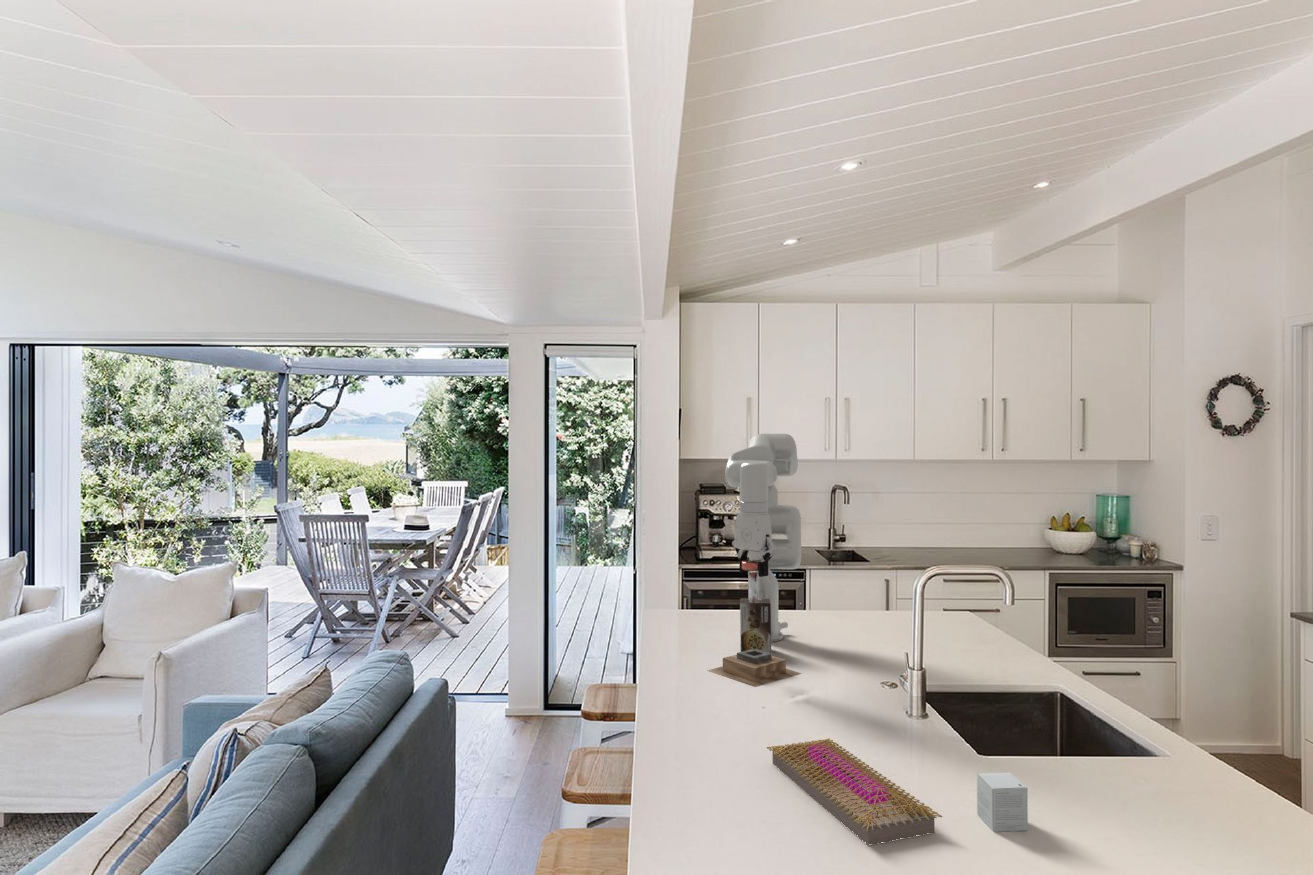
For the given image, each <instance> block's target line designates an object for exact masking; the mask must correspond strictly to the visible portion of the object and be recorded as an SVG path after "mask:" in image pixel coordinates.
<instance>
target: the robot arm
mask: <svg viewBox="0 0 1313 875" xmlns="http://www.w3.org/2000/svg"><path fill="white" fill-rule="evenodd" d="M798 465H799V464H798V449H797V443H796V441H795V438H794V437H793V436H792V435H790V434H789V433H759V434H755V435H753V437H751V438H750V440H749V442H748V445H747V447H746V448H744V449H742V450H738V451H735V452H734V453H731V455H730V456H729V457H728V459H727V462H726V464H725V473H724V476H725V477H724V478H725V481H726V483H727V484H728V486H730V487H732V488H739V503H738V507H739V512H737V516H736V519H735V520H736V521H735V528H734V540H732V542H731V545H732V546H733V548H734V550H735V552H736V554H737V558H738V559H739V574H744V573H746V574H747V575H748V578H747V579H748V589H749V572H758V598H762V599H770V602H771V643H773V642H778V641H781V640H783V639H784V633H782V632H781V631H782V629H786V628H788V627H789V624H788V622H787V621H783V622H780V621H779V582H778V579H777V577H776V576H775V574H774V573H773V572H772V570H797V569H798V568H799V567H800V566H801V563H802V517H801V513H800V510H799V509H798V507H796V506H794V505H788V504H787V505H786V504H785V505H784V504H781V505H779V504H778V501H779V500H778V499H779V498H778V494H779V493H778V488H777V487H776V485H775V484H774V483H775V482H777V479H778V477H791V476H794V475H795V474H796V472H798V471H797V470H798ZM773 535H774V536H776V535H777V536H785V537H786V538H773ZM745 559H749V560H759V559H760V561H761V562H759V563H758V571H747V570H743V569H742V561H743V560H745Z"/></svg>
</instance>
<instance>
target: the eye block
mask: <svg viewBox="0 0 1313 875" xmlns="http://www.w3.org/2000/svg"><path fill="white" fill-rule="evenodd" d="M707 672H710V673H713V674H716V675H719V676H721V677H725V678H728V679H731V680H733V681H737V682H739V683H742V684H745V685H748V686H750V687H754V688H756V687H760V686H764V685H766V684H767V685H768V684H771V683H774V682H777V681H780V680H785V679H787V678H792V677H794V676H795V677H796V676H798V675H802V673H801V672H799V671H795V670H792V669H788V668H787V660H786V658H780V657H778V656H774V655H773V654H772V653H771V654H770V653H767V652H763V651H760V650H757V649H751V650H747V651H743V652H741V651H739V652H737V653H736V654H734V655H729V656H726V657H722V665H721V666H719V667H714V668H711V669H707Z"/></svg>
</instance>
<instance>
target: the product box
mask: <svg viewBox="0 0 1313 875" xmlns="http://www.w3.org/2000/svg"><path fill="white" fill-rule="evenodd" d="M976 774H977V775H976V776H977V777H976V814H977V817H979V819H981V821H983V823H984V824H985V825H986V826H987V827H988V828H989V829H990V830H991V832H993V833H996V832H997V833H998V832H999V833H1000V832H1022V831H1023V832H1024V831H1026V832H1027V831H1028V830H1029V823H1028V822H1029V821H1028V820H1029V818H1028V817H1029V815H1028V814H1029V813H1028V811H1029V810H1028V809H1029V808H1028V802H1029V801H1028V796H1029V795H1028V794H1029V793H1028V790H1029V788H1028V787H1027V786H1026V785H1025V784H1024V783H1023V782H1021V781H1020V780H1019V779H1018V778H1017V777H1016V776H1014V774H1013V773H1011V772H988V773H987V772H983V773H982V772H981V773H980V772H979V773H976Z"/></svg>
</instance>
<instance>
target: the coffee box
mask: <svg viewBox="0 0 1313 875" xmlns="http://www.w3.org/2000/svg"><path fill="white" fill-rule="evenodd" d="M739 612H740V613H739V615H740V616H739V619H740V620H739V621H740V622H739V623H740V625H739V627H740V628H739V629H740V631H739V632H740V633H739V634H740V636H739V637H740V645H739V646H740V651H739V652H743V651H747V650H751V649H757V650H760V651H763V652H767V653H770V654H772V642H771V602H770V599H762V598H758V603H750V602H749V597H748V598H745V597H743V598H740V599H739Z"/></svg>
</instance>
